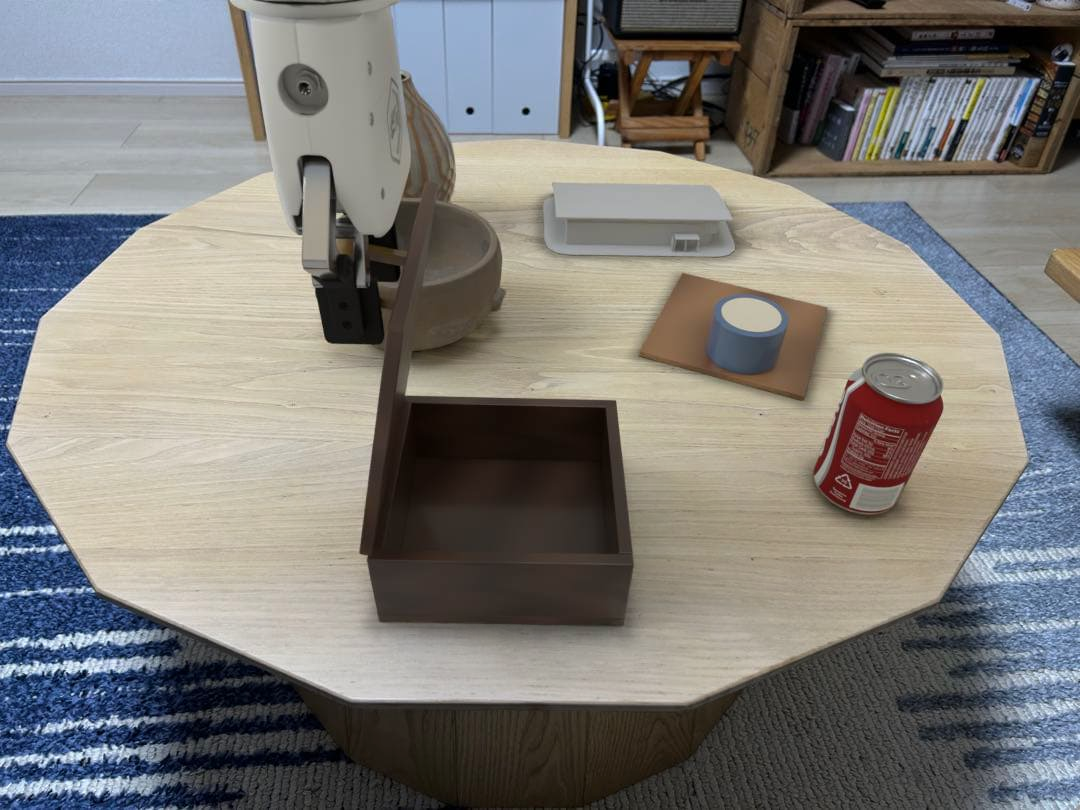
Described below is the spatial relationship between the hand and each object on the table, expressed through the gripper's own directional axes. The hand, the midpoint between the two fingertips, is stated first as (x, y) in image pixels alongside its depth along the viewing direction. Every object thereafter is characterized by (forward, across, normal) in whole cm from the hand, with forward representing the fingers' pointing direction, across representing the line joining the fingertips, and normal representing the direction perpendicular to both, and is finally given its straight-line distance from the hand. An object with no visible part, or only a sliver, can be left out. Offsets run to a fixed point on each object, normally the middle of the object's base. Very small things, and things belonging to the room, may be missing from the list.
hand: (365, 306), depth 45 cm
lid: (+5, 0, -2) cm, 5 cm away
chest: (+21, 0, -8) cm, 22 cm away
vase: (+21, +48, +6) cm, 53 cm away
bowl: (+21, +27, +2) cm, 34 cm away
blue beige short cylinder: (+20, +23, -30) cm, 43 cm away
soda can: (+21, +5, -36) cm, 42 cm away
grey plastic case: (+21, +49, -22) cm, 58 cm away
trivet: (+21, +27, -31) cm, 46 cm away
